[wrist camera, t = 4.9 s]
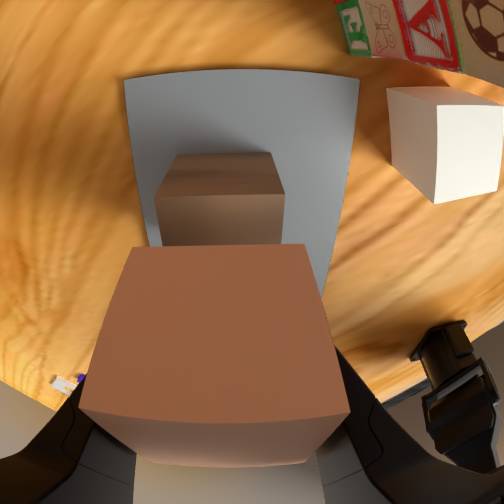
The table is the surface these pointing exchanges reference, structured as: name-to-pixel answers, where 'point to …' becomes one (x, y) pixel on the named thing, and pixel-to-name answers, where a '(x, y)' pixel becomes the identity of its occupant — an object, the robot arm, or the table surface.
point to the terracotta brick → (217, 358)
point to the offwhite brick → (445, 140)
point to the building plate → (252, 139)
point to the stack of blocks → (429, 33)
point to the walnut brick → (221, 200)
